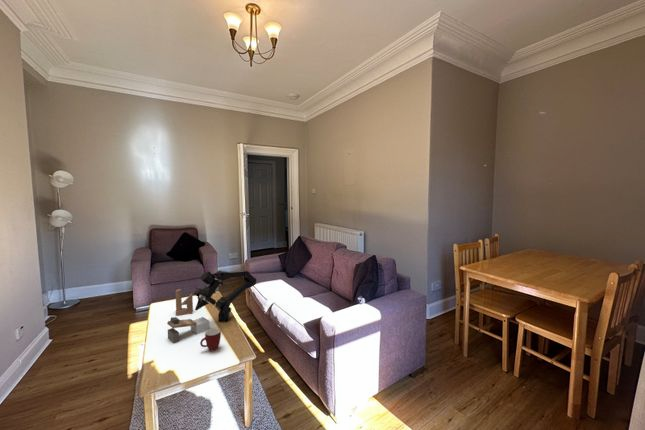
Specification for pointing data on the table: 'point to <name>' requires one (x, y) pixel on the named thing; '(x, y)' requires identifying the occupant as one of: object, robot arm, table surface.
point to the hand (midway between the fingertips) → (195, 310)
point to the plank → (180, 322)
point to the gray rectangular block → (200, 327)
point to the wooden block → (179, 304)
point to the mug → (212, 339)
